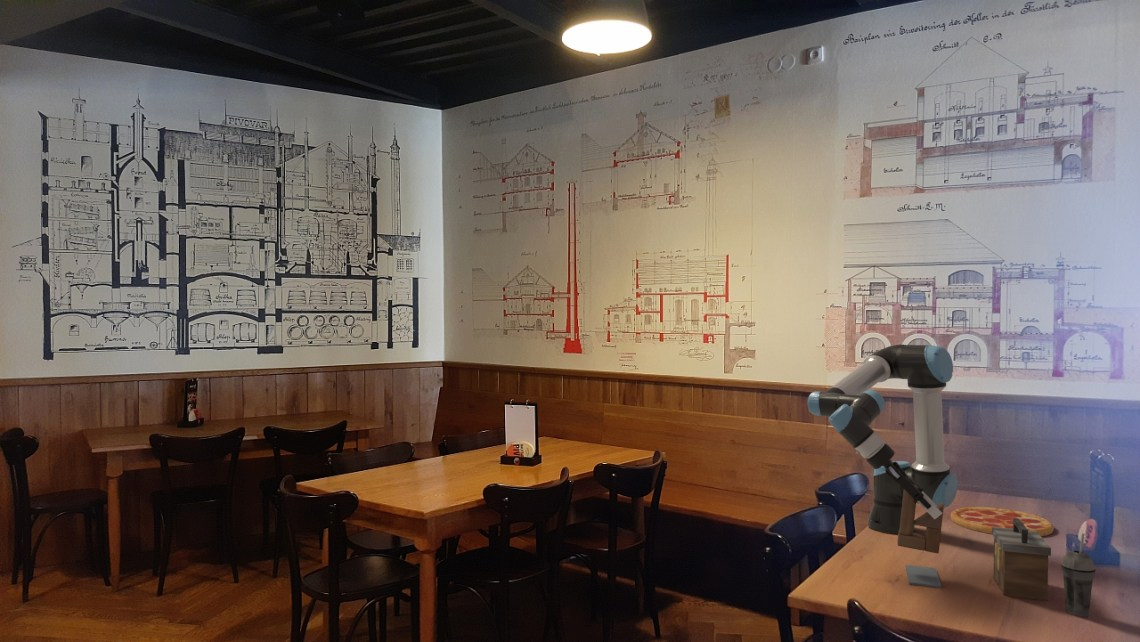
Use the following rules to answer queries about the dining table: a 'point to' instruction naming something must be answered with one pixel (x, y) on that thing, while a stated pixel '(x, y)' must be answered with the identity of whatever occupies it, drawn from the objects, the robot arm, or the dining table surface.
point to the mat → (923, 576)
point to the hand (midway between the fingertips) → (937, 514)
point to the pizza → (998, 519)
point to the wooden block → (926, 520)
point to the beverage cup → (1078, 581)
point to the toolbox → (1021, 562)
